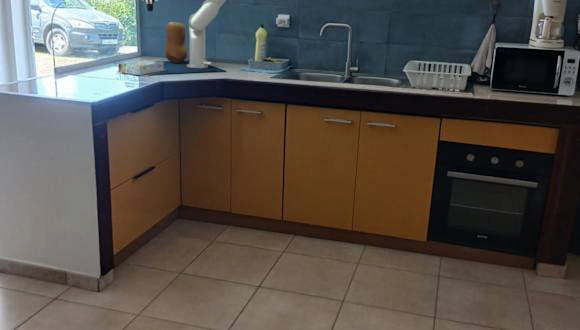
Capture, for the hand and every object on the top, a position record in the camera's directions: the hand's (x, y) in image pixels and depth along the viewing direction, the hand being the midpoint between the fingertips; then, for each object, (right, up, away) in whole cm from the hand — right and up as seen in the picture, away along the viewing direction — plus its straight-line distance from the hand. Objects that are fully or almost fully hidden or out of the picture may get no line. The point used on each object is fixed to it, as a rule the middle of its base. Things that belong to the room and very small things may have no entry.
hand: (150, 11), depth 347 cm
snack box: (-9, -33, -10) cm, 36 cm away
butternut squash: (+10, -26, +28) cm, 39 cm away
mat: (+1, -37, -10) cm, 38 cm away
